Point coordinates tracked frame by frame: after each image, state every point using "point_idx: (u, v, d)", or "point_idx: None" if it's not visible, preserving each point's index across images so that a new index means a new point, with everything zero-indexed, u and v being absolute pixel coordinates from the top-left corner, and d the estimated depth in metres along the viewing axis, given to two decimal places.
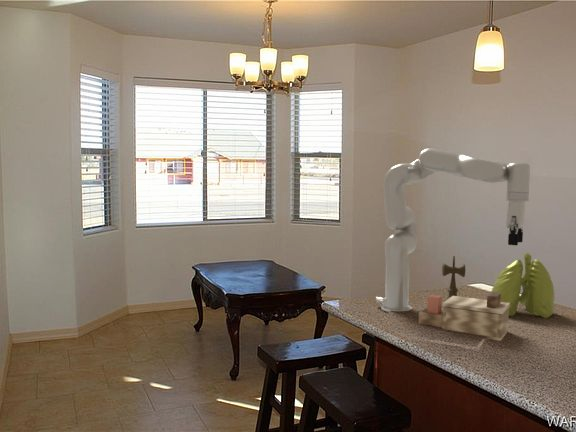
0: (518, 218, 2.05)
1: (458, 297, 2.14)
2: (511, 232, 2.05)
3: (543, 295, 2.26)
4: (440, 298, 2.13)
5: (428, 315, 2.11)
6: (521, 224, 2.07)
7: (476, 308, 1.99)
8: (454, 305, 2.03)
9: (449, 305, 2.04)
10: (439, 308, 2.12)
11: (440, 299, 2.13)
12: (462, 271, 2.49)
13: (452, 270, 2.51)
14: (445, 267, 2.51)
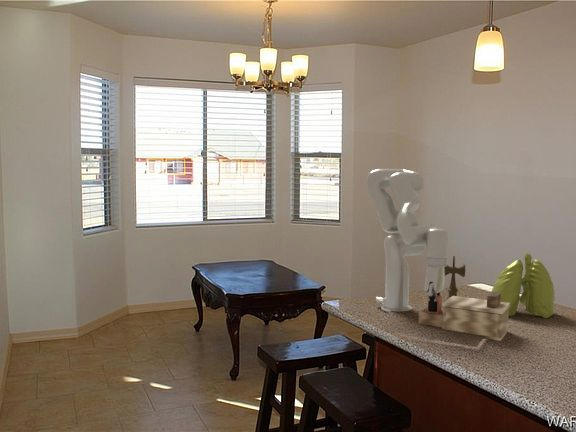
0: (435, 284, 2.08)
1: (458, 297, 2.14)
2: (430, 300, 2.10)
3: (543, 296, 2.25)
4: (440, 298, 2.13)
5: (428, 315, 2.11)
6: (439, 289, 2.10)
7: (476, 308, 1.99)
8: (454, 305, 2.03)
9: (449, 305, 2.04)
10: (439, 308, 2.12)
11: (440, 299, 2.13)
12: (462, 271, 2.49)
13: (452, 270, 2.51)
14: (445, 267, 2.51)
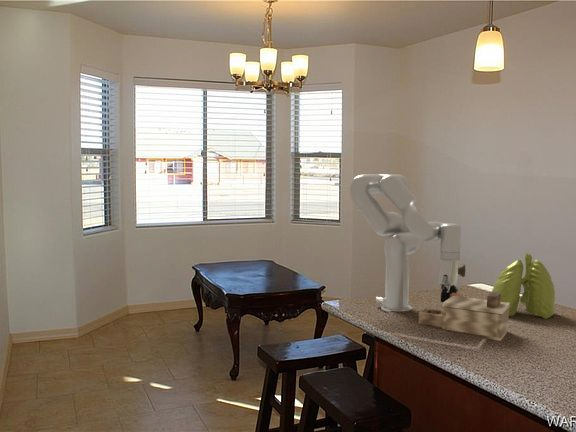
0: (449, 277, 2.16)
1: (458, 297, 2.14)
2: (443, 291, 2.17)
3: (543, 296, 2.25)
4: None
5: (428, 315, 2.11)
6: (453, 282, 2.18)
7: (476, 308, 1.99)
8: (454, 305, 2.03)
9: (449, 305, 2.04)
10: None
11: None
12: (462, 271, 2.49)
13: None
14: None
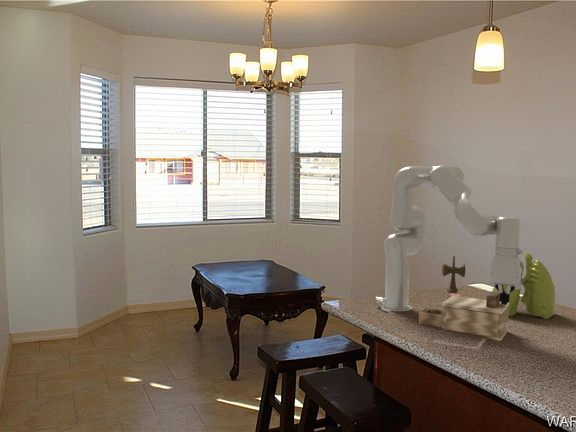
0: (490, 272, 2.01)
1: (457, 297, 2.14)
2: None
3: (543, 296, 2.25)
4: (459, 296, 2.20)
5: (428, 315, 2.11)
6: (497, 280, 1.99)
7: (475, 308, 1.99)
8: (453, 305, 2.03)
9: (448, 305, 2.04)
10: None
11: None
12: (462, 271, 2.49)
13: (452, 270, 2.51)
14: (445, 267, 2.51)
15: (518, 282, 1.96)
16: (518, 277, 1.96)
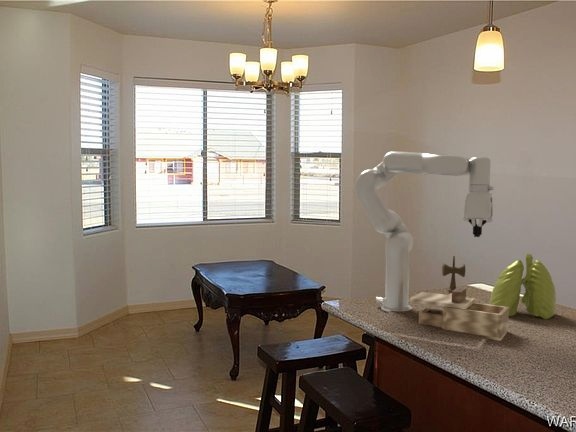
0: (464, 208, 2.23)
1: (426, 293, 2.20)
2: None
3: (543, 296, 2.24)
4: None
5: (428, 315, 2.11)
6: (470, 214, 2.21)
7: (441, 303, 2.06)
8: (420, 300, 2.10)
9: (416, 300, 2.10)
10: None
11: None
12: (462, 271, 2.49)
13: (452, 270, 2.51)
14: (445, 267, 2.51)
15: (489, 215, 2.18)
16: (489, 211, 2.18)
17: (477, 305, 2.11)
